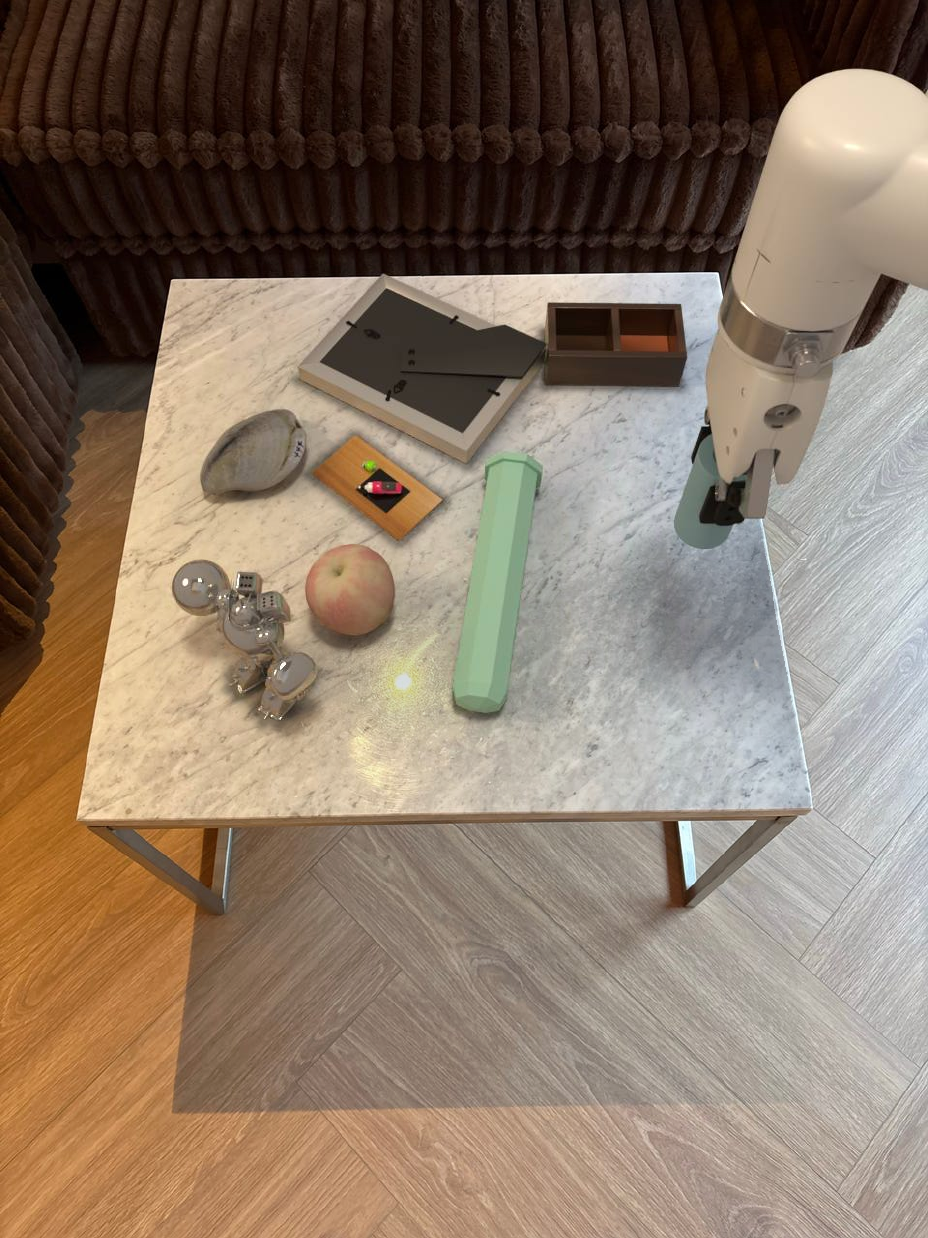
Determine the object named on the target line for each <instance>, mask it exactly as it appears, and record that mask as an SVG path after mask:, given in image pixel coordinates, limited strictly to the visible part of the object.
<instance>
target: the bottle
mask: <svg viewBox="0 0 928 1238" xmlns="http://www.w3.org/2000/svg"><path fill="white" fill-rule="evenodd" d="M718 476H719V471H718V467H717V461H716V455H715V449H714V443H713V436H712V434H711V435H709V436H708V437H706V438H705V439H704V440H703V441H702V442H701V444H700V446H699V449H698V451H697V454H696V457H695V460H694V463H693V464H692V466H691V469H690V471H689V474H688V478H687V480H686V484H685V486H684V488H683V492H682V495H681V498H680V501H679V503H678V506H677V509H676V512H675V515H674V518H673V528H674V531H675V534H676V536H678V538H679V539H680V540H681V541H682V542H683V543H684V544H686V545H688V546H690V547H692V548H694V549H698V550H710V549H711V550H713V549H715V548H718V547H720V546H721V545H723V544H724V543H725V542H726V541H727V540H728V538H729V536H730V533H731V531H732V529H733V527H734V525H731V526H718V525H716V524H702V523H700V520H699V514H700V511H701V509H702V506H703V504H704V501H705V498H706V496H707V493H708V491H709V488H710V486H713V485H716V484H717V480H718ZM734 478H735V481H732V482H746V478H747V475H741V476H740V477H734Z"/></svg>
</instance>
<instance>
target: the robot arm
mask: <svg viewBox="0 0 928 1238" xmlns="http://www.w3.org/2000/svg"><path fill="white" fill-rule="evenodd" d="M737 248H738V249H737V252H736V254H735V258H734V261H733V264H732V268H731V271H730V274H729V277H728V280H727V283H726V286H725V290H724V293H723V296H722V299H721V301H720V302H721V303H720V306H719V308H718V312H717V313H718V314H717V326H718V329H717V332H716V334H715V337H714V340H713V342H712V346H711V348H710V353H709V356H708V359H707V365H706V368H705V392H706V402H707V406H706V407H705V410H704V414H703V421H704V426H703V425H701V426H700V429H699V433H698V434H697V435H698V436H697V438H696V441H695V444H694V446H693V450H692V453H691V455H690V456H691V457H690V460H691V464H692V465H693V463H694V460H695V457H696V454H697V451H698V449H699V446H700V444H701V442H702V441H703V440H704V439H705V438H706V437H708V436H709V435H711V434H712V436H713V443H714V449H715V455H716V461H717V467H718V471H719V476H718V480H717V484H716V485H713V486H710V488H709V491H708V493H707V496H706V498H705V501H704V504H703V506H702V509H701V511H700V514H699V520H700V523H702V524H716V525H718V526H731V525H733V526H734V525H739V524H742V523H744V521H745V520H754V519H755V520H757V519H758V520H759V519H760V520H762V519H763V520H764V519H765V518H766V515H767V510H768V504H769V503H768V502H769V495H770V488H771V482H772V476H773V473H774V476H775V481H776V485H788V484H790V483H791V482H792V481H793V480H794V478H795V477H796V475H797V473H798V471H799V470H800V467H801V465H802V463H803V461H804V460H805V459H804V458H805V456H806V454H807V452H808V449H809V447H810V445H811V442H812V440H813V437H814V435H815V433H816V431H817V430H816V429H817V427H818V424H819V421H820V420H821V417H822V413H823V411H824V408H825V404H826V401H827V397H828V394H829V391H830V386H831V382H832V377H833V372H834V361H836V360H838V358H839V357H840V355H841V354H842V353H843V351H844V350H845V347H846V346H847V344H848V342H849V339H850V338H851V335H852V333H853V331H854V329H855V327H856V325H857V323H858V321H859V319H860V317H861V315H862V313H863V311H864V310H865V307H866V305H867V303H868V301H869V299H870V297H871V295H872V293H873V291H874V289H875V286H876V285H877V283H878V281H879V279H880V277H881V275H884V276H887V277H889V278H892V279H894V280H898V281H900V282H903V283H905V284H908V285H911V286H914V287H916V288H919V289H922V290H924V291H927V292H928V89H927V90H926V92H925V93H924V92H923V90H921V89H919V88H918V87H916V86H915V85H914V84H912V83H910V82H909V81H907V80H905V79H904V78H901V77H899V76H896V75H894V74H891V73H889V72H887V73H886V72H884V71H879V70H875V69H865V68H846V69H840V70H835V71H832V72H827V73H824V74H821V75H820V76H817V77H815V78H813V79H811V80H810V81H808V82H807V83H805V84H804V85H802V86H801V87H800V88H799V89H798V90H797V91H796V92H795V93H794V94H793V95H792V96H791V98H790V99H789V101H788V102H787V103H786V105H785V106H784V108H783V110H782V111H781V114H780V116H779V119H778V121H777V124H776V127H775V130H774V133H773V136H772V139H771V142H770V146H769V149H768V152H767V155H766V159H765V162H764V165H763V168H762V171H761V174H760V178H759V181H758V184H757V188H756V191H755V194H754V196H753V199H752V203H751V206H750V210H749V213H748V216H747V219H746V222H745V226H744V229H743V232H742V235H741V238H740V241H739V244H738V247H737ZM741 475H747V478H746V482H732V481H735V478H734V477H740V476H741Z"/></svg>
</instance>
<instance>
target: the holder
mask: <svg viewBox="0 0 928 1238" xmlns="http://www.w3.org/2000/svg"><path fill="white" fill-rule="evenodd" d="M684 325H685V324H684V315H683V308H682V303H648V302H647V303H646V302H645V303H642V302H641V303H640V302H638V303H636V302H633V303H630V302H558V301H557V302H556V301H555V302H554V301H552V302H551V301H549V302H547V304H546V313H545V324H544V342H545V343H547V344H546V346H545V347H544V348H546V354H545V362H544V365H545V366H544V367H545V369H544V370H545V386H593V387H594V386H599V387H600V386H601V387H607V386H608V387H670V388H672V387H674V388H676V387H678V388H679V387H680V384H681V381H682V378H683V374H684V372H685V368H686V364H687V360H688V352H687V343H686V334H685V326H684Z"/></svg>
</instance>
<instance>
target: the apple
mask: <svg viewBox="0 0 928 1238" xmlns="http://www.w3.org/2000/svg"><path fill="white" fill-rule="evenodd" d="M395 586H396V585H395V580H394V577H393V572H392V570H391V568H390V565H389V564H388V562H387V561H386V560H385V559H384V557H383V556H382V555H381V554H379V552H377V551H376V550H374V549H372V548H370V547H368V546H366V545H363V544H358V543H349V544H343V545H339V546H336V547H333V548H332V549H329V550H327V551H325V553H323V554H321V556H319V557H318V558H317V559H316V561H314V563H313V564H312V565H311V567H310V569H309V571H308V574H307V576H306V579H305V585H304V594H305V600H306V603H307V605H308V608H309V610H310V613H311V614H312V615H313V616H314V617H315V619H317V620H318V621H319V623H320V624H322V625H323V626H324V627H325V628H328V629H330V630H331V631H333V632H336V633H339V634H343V635H348V636H360V635H363V634H367V633H370V632H371V631H373V630H375V629H376V628H378V627H379V626H380V625H381V624H382V623H384V622H385V621H386V620H387V619H388V618H389V616H390V615H391V613H392V611H393V608H394V604H395V599H396V587H395Z"/></svg>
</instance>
